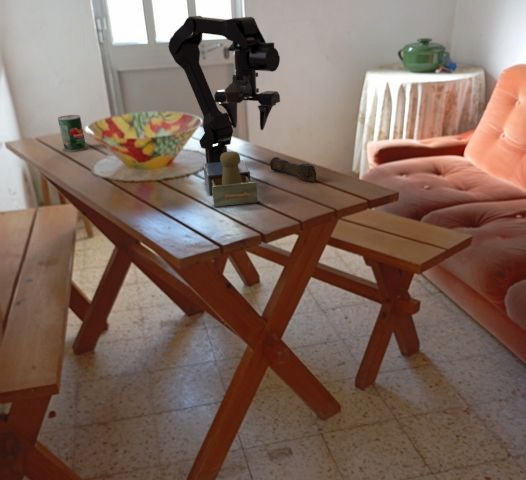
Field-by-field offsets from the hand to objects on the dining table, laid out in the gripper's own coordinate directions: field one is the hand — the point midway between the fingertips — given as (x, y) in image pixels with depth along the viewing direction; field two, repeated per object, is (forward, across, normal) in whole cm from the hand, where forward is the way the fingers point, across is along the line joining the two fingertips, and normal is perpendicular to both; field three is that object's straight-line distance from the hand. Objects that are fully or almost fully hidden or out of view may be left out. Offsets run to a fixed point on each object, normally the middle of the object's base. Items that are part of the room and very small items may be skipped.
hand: (248, 128), depth 164 cm
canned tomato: (+13, -77, +4) cm, 78 cm away
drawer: (+13, +8, -23) cm, 28 cm away
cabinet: (+13, +1, -14) cm, 19 cm away
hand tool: (+13, +14, +3) cm, 19 cm away
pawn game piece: (+12, +7, -22) cm, 27 cm away
